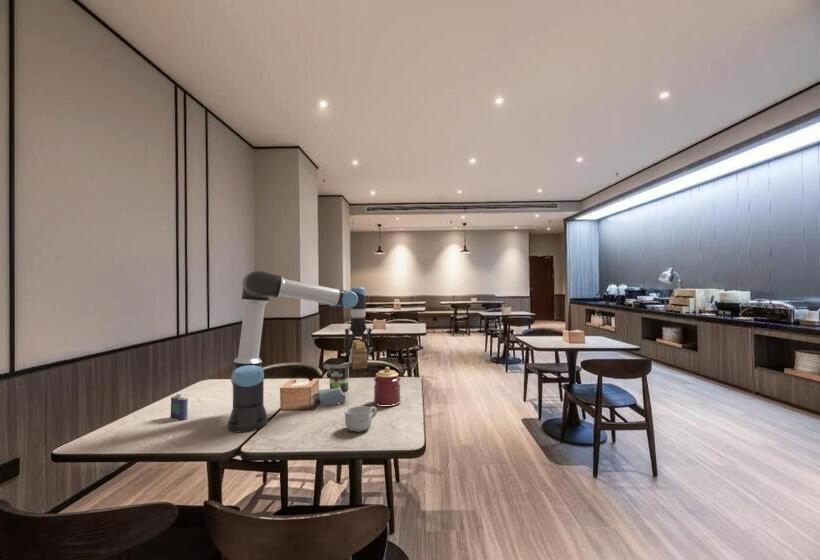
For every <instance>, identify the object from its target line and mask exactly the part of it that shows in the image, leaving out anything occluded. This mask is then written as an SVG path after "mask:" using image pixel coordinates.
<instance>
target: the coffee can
mask: <svg viewBox="0 0 820 560" xmlns="http://www.w3.org/2000/svg"><path fill="white" fill-rule="evenodd" d="M349 368H350V365H349V364H342V363H339V364H332V365H329V389H335V388H339V387H340V389H341V390H342V392H343V393H345V392H347V391H348V390H349V388H350V387H349V385H350V384H349V383H350V382H349V381H350V378H349V377H350V375H349V374H350V372H349V371H350V369H349ZM349 391H350V390H349Z"/></svg>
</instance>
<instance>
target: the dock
mask: <svg viewBox="0 0 820 560" xmlns="http://www.w3.org/2000/svg"><path fill="white" fill-rule="evenodd" d="M318 400H319V402H321V403H320V405H321V407H326V406H325V405H329V406H333V405H332V404H337V405H339V404H338V403H345V404H346V394H344V393H343V392H342V390H341V389H340V387H339V388H335V389H330V388H328V389H327V388H326V389H319V390H318Z"/></svg>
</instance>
